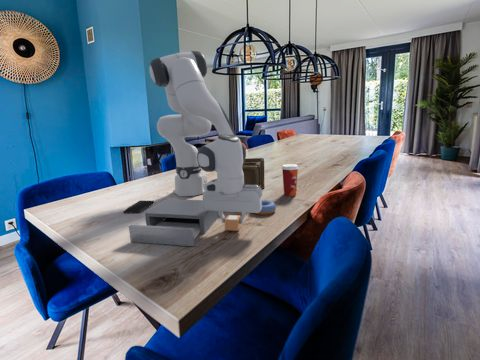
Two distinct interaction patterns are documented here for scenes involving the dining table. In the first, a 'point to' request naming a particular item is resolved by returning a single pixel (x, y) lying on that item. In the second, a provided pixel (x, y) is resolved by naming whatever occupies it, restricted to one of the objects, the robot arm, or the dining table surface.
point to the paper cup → (290, 179)
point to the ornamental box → (254, 172)
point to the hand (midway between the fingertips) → (233, 222)
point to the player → (182, 212)
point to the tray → (165, 233)
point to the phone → (138, 207)
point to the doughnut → (267, 207)
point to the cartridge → (232, 222)
